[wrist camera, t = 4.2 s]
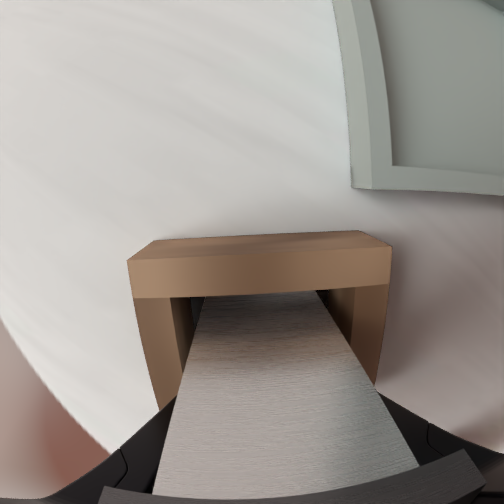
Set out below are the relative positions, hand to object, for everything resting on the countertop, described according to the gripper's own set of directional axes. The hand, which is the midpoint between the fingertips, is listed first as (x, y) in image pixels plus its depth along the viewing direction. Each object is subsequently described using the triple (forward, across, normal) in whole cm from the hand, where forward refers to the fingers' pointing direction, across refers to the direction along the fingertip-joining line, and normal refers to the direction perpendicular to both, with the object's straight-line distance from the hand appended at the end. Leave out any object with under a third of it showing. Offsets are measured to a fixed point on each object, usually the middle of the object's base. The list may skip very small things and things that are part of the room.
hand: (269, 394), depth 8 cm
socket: (+4, 0, 0) cm, 4 cm away
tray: (+4, -10, -12) cm, 16 cm away
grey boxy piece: (+4, 0, 0) cm, 4 cm away
